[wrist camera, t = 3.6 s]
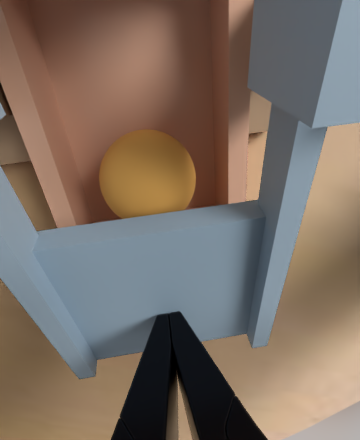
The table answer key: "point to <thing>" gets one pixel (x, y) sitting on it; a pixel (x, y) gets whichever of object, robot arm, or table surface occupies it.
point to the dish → (127, 91)
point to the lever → (198, 213)
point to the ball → (147, 174)
